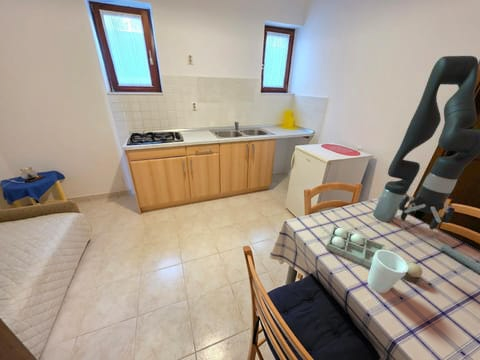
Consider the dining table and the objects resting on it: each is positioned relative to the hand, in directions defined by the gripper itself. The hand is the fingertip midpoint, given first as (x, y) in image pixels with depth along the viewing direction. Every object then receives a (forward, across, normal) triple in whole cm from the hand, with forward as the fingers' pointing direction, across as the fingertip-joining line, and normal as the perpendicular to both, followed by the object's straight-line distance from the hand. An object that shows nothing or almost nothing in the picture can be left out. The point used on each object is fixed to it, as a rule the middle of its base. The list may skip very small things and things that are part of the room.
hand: (416, 223), depth 76 cm
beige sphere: (+15, -4, +8) cm, 17 cm away
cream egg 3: (+15, +16, +3) cm, 22 cm away
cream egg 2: (+15, +23, +9) cm, 29 cm away
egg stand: (+18, -3, +8) cm, 20 cm away
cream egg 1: (+15, +23, +3) cm, 27 cm away
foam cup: (+19, +7, +20) cm, 28 cm away
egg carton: (+18, +16, +6) cm, 25 cm away
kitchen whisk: (+18, -16, -18) cm, 30 cm away
